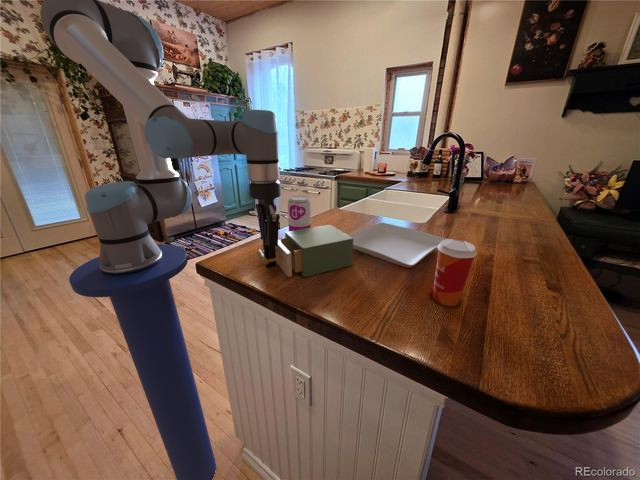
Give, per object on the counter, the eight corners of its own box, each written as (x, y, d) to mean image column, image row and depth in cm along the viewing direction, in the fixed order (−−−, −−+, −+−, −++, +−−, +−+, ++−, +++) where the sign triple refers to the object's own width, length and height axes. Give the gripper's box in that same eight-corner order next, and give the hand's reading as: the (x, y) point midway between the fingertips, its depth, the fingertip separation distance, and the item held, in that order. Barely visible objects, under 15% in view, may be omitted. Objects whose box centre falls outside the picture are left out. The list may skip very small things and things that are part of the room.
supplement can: (306, 242, 92) (306, 201, 86) (285, 239, 94) (283, 199, 88) (313, 234, 99) (313, 196, 93) (293, 232, 101) (292, 194, 96)
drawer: (267, 282, 65) (265, 258, 63) (255, 262, 75) (253, 240, 73) (335, 265, 74) (335, 243, 71) (316, 249, 84) (316, 230, 81)
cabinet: (303, 277, 69) (303, 248, 66) (286, 257, 80) (285, 231, 77) (351, 265, 76) (353, 238, 73) (329, 248, 87) (330, 224, 84)
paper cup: (430, 286, 65) (440, 235, 60) (464, 295, 62) (478, 242, 56) (425, 302, 59) (435, 247, 54) (462, 313, 55) (477, 255, 50)
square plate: (448, 248, 87) (451, 238, 86) (410, 277, 69) (412, 264, 68) (380, 229, 105) (381, 220, 103) (336, 248, 87) (336, 237, 86)
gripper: (288, 184, 59) (292, 273, 68) (271, 176, 69) (276, 254, 78) (256, 186, 55) (264, 280, 64) (243, 178, 66) (251, 259, 75)
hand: (271, 266), depth 71 cm, fingers closed
